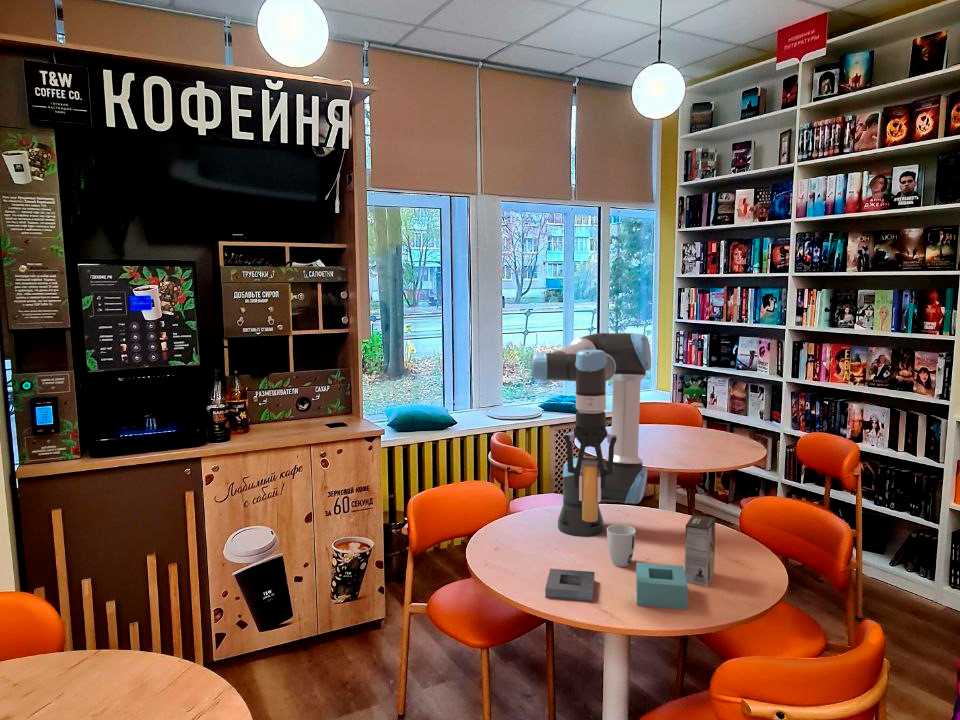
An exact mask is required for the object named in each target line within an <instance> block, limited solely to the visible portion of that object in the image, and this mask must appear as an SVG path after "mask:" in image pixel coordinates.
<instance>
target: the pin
mask: <svg viewBox="0 0 960 720" xmlns="http://www.w3.org/2000/svg"><path fill="white" fill-rule="evenodd" d="M597 495H598V460H597V456H583V460H582V520H584V521H587V522H595V521H597V520H598V502H597Z"/></svg>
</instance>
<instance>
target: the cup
mask: <svg viewBox="0 0 960 720" xmlns="http://www.w3.org/2000/svg"><path fill="white" fill-rule="evenodd" d="M636 532H637V531H636V528H634V527H633V526H631V525H627V524H613V525H609V526H608V527H606V541H607V546H608V547H607V548H608V553H609V557H610V560H611V561H610V562H612V565H614V566H616V567H621V568H624V567H629V566H630V565H631V562H632V559H633V555H634V550H635V545H636V535H637V534H636Z"/></svg>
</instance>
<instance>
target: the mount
mask: <svg viewBox="0 0 960 720" xmlns="http://www.w3.org/2000/svg"><path fill="white" fill-rule="evenodd" d="M545 584H546V585H545V598H548V599H558V600H559V599H562V600H569V601H570V600H571V601H585V602H594V600H593V599H594V591H595V590H594V589H595V571H586V570H576V569H575V570H574V569H572V570H571V569H562V568H561V569H559V568H550V569H549V572H548V575H547V579H546V583H545Z"/></svg>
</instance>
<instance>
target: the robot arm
mask: <svg viewBox="0 0 960 720" xmlns="http://www.w3.org/2000/svg"><path fill="white" fill-rule="evenodd" d="M651 369H652V353H651V346H650V342H649V339H648V337H647V336H646V335H645V334H642V333H635V332H634V333H633V332H630V333H629V332H625V333H622V332H620V333H619V332H618V333H617V332H616V333H614V332H610V333H609V332H607V333H606V332H599V333H598V332H597V333H592V334H589V335H584V336H581V337H578V338H576V339H574V340H573V341H571V342H570V344H569V345H567V346H566V347H562V348H560V349H558V350H556V351H553V352H546V351H544V352H536V353H534V355H533V357H532V360H531V373H532V377H533V378H534V379H536V380H542V381H559V382H560V381H562V382H563V381H565V382H566V381H567V382H569V381H570V382H575V409H576V412H575V428H574V431H571V432H569V433H568V432H566V433H565V434H564V437H563V438H564V441H565V444H566V452H567V453H566V457H567V459H566V460H567V461H566V462H565V463H564V464H563V467H562V468H563V469H562V470H563V472H562V501H563V502H562V507H561V510H560V513H559V515H558V519H557V528H558V530H560V531H561V532H563V533H565V534H567V535H572V536H577V537H579V536H581V537H589V536H596V535H598V534H600V533H602V532H603V531H604V530H605V522H604V518H603V515H602V511H601V509H600V506H599V504H600V503H601V501H607V502H617V503H624V504H639V503H640V502H641V501H642V499H643V497H644V494H645V490H646V486H647V479H648V468H647V467H645V466H643V460H642V458H640V457H639V433H640V407H641V405H640V404H641V382H642V380H643V379H644V378H645V377H646V376H647V375H646V374H647V373H646V372H648V371H650V370H651ZM611 379H612V402H611V403H612V406H611V407H612V408H611V434H610V433H608V430H607V428H606V420H607V419H606V418H607V417H606V412H605V410H606V408H607V407H606V405H607V401H606V400H607V397H606V396H607V395H606V394H607V393H606V388H607V386H606V382H608V381H609V380H611ZM575 438H576V440H577V442H579V444H580V446H579V451H578V456H577V457H574V452H573V451H574V450H573V449H574V448H573V446H574V445H573V442H574V439H575ZM605 439H607V444H609V445H608V456H606V458H605V461H604V456H603V453H602V446H601V444H602V443H603V441H604V440H605ZM589 447H591V448H594V451H595V455H596V457H597V460H598V495H597V502H598V520H597V521H595V522H587V521H584V520H582V460H583V457H585V451H586V448H589Z"/></svg>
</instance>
